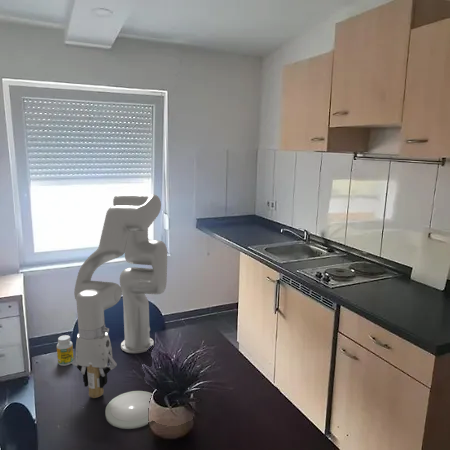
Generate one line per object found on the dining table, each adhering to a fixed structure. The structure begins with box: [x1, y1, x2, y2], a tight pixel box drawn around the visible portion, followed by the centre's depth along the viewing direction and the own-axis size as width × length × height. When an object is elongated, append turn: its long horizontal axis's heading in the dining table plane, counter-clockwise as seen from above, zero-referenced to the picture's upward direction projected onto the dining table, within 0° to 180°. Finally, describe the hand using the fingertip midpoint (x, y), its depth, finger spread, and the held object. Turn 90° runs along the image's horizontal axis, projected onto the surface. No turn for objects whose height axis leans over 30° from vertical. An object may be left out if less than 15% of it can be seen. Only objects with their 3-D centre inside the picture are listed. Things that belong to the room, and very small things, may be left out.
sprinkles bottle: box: [87, 362, 105, 399], centre depth 126 cm, size 5×5×13 cm
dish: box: [104, 390, 153, 430], centre depth 121 cm, size 16×16×1 cm
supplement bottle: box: [56, 334, 75, 367], centre depth 146 cm, size 5×5×10 cm
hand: (95, 384), depth 126 cm, fingers closed on sprinkles bottle, 4 cm apart
